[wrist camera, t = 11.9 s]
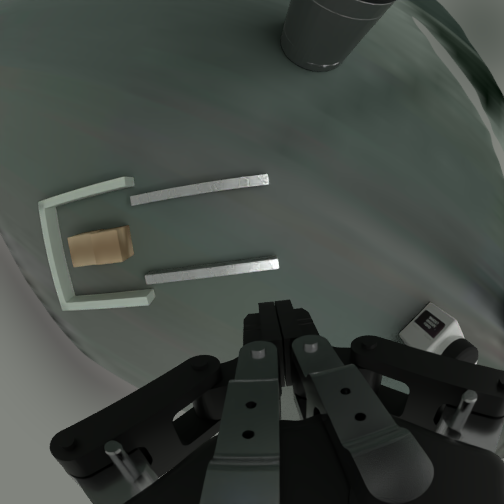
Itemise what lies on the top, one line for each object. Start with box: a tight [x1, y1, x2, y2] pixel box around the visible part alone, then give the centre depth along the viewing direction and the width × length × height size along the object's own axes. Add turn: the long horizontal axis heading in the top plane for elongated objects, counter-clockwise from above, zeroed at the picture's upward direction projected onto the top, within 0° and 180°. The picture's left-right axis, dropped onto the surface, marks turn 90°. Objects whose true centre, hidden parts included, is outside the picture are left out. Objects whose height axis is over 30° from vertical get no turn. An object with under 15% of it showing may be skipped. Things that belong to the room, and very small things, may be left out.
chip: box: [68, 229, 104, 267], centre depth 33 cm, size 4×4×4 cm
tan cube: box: [90, 225, 134, 265], centre depth 33 cm, size 4×4×4 cm
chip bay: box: [38, 177, 155, 311], centre depth 33 cm, size 16×15×3 cm
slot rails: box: [130, 174, 279, 284], centre depth 34 cm, size 11×17×2 cm
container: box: [399, 302, 478, 364], centre depth 33 cm, size 8×8×13 cm
